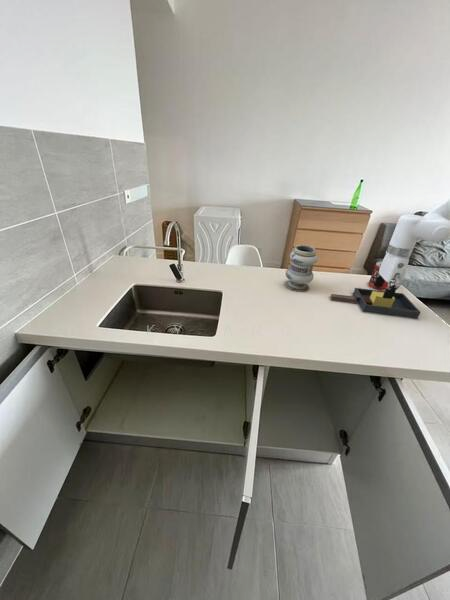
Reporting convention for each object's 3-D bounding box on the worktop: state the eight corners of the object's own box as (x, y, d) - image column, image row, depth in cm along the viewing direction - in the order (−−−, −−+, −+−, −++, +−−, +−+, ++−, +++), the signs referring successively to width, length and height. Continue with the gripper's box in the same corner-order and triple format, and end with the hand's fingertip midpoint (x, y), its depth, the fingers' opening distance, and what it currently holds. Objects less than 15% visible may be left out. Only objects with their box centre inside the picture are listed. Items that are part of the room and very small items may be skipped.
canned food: (364, 282, 117) (372, 261, 111) (378, 282, 118) (387, 261, 112) (375, 290, 110) (385, 268, 105) (390, 289, 112) (400, 267, 106)
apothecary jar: (281, 289, 107) (289, 250, 98) (284, 278, 117) (292, 241, 107) (310, 294, 104) (320, 255, 95) (310, 282, 114) (320, 245, 104)
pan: (400, 299, 104) (403, 293, 103) (417, 318, 92) (421, 312, 91) (352, 293, 107) (355, 287, 105) (363, 311, 95) (365, 305, 93)
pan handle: (357, 300, 102) (360, 294, 100) (359, 303, 100) (361, 298, 98) (330, 297, 103) (331, 291, 102) (331, 300, 101) (333, 294, 99)
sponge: (386, 302, 101) (390, 293, 98) (390, 308, 97) (395, 298, 95) (368, 300, 102) (372, 291, 99) (372, 305, 98) (376, 296, 96)
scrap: (368, 300, 102) (369, 297, 101) (371, 305, 98) (373, 302, 98) (358, 299, 102) (359, 296, 101) (361, 303, 99) (362, 301, 98)
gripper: (422, 260, 80) (402, 304, 89) (399, 244, 95) (384, 283, 103) (398, 258, 81) (380, 302, 90) (379, 242, 96) (365, 281, 104)
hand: (382, 292), depth 97 cm, fingers open, 9 cm apart
